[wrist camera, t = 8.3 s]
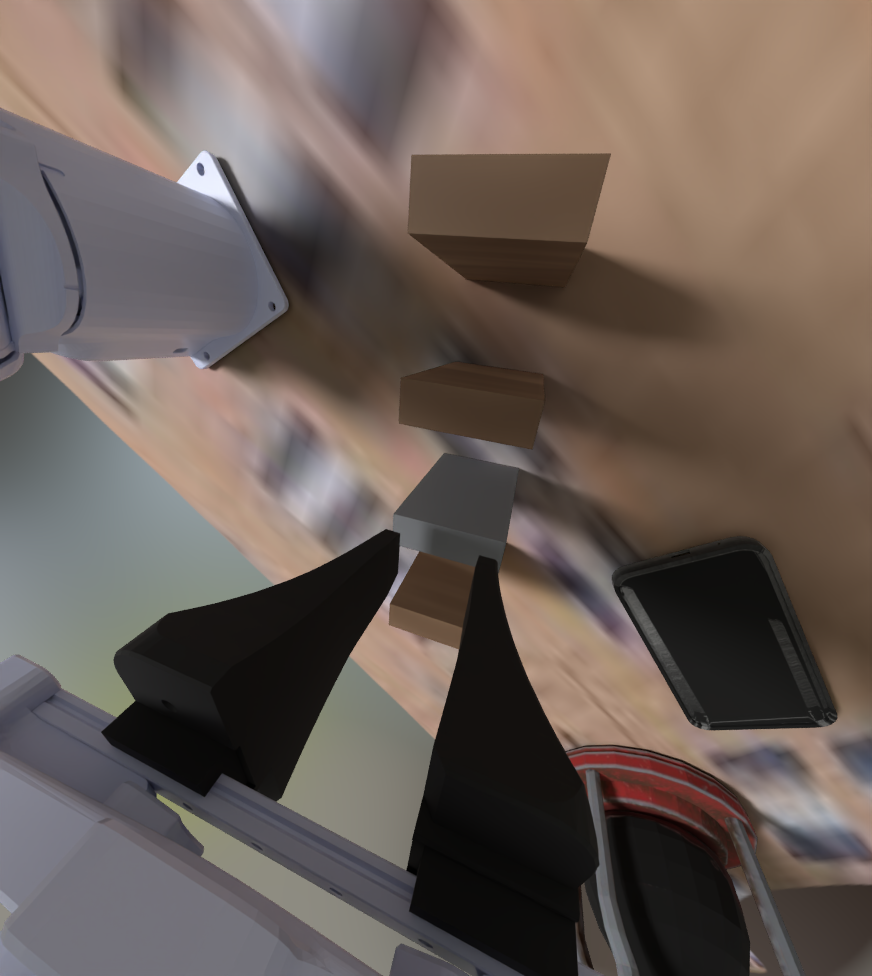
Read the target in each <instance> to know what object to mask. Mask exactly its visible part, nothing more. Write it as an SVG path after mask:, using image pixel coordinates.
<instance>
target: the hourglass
mask: <svg viewBox="0 0 872 976" xmlns="http://www.w3.org/2000/svg"><path fill="white" fill-rule="evenodd" d="M566 754H567V755H568V757H569V759H570V761H571V762H572V764H573V766H574V767H575V769H576V771H577V772H578V774H579V776H580V777H581V779H582V781H583V783H584V785H585V789H586V792H587V796H588V800H589V804H590V808H591V812H592V817H593V821H594V826H595V831H596V837H597V842H598V851H599V863H600V865H599V867H598V868H597V870H596V872H595V873H594V874H593V875H592V876H591V877H590V878H589V879H587V880H586V881H585V882H584V883H585V888H586V893H587V896H588V899H589V902H590V905H591V907H592V910H593V913H594V915H595V918H596V921H597V923H598V926H599V929H600V931H601V932H602V934H603V936H604V938H605V940H606V942H607V944H608V946H609V948H610V950H611V952H612V953H613V955H614V958H615V961H616V966H617V971H618V976H749V970H750V940H749V936H748V932H747V929H746V924H745V921H744V916H743V912H742V908H741V905H740V902H739V899H738V896H737V894H736V891H735V888H734V885H733V882H732V879H731V878H730V876H729V874H728V872H727V869H731V868H735V867H739V866H742V868H743V871H744V873H745V876H746V879H747V881H748V884H749V886H750V889H751V892H752V894H753V897H754V900H755V902H756V905H757V908H758V910H759V913H760V916H761V918H762V921H763V924H764V926H765V929H766V931H767V934H768V937H769V939H770V942H771V945H772V947H773V950H774V952H775V955H776V958H777V961H778V963H779V966H780V968H781V971H782V974H783V976H806V975H805V972H804V970H803V968H802V965H801V963H800V961H799V958H798V956H797V953H796V951H795V949H794V946H793V944H792V941H791V939H790V936H789V934H788V932H787V929H786V927H785V924H784V922H783V920H782V918H781V915H780V912H779V910H778V908H777V905H776V903H775V900H774V898H773V896H772V894H771V891H770V888H769V886H768V884H767V881H766V879H765V876H764V874H763V872H762V869H761V867H760V864H759V862H758V860H757V857H756V855H755V854H756V846H757V836H756V834H755V831H754V829H753V827H752V824H751V822H750V820H749V818H748V815H747V813H746V812H745V810H744V808H743V807H742V805H741V804H740V802H739V800H738V799H737V797H736V796H735V795H734V794H732V793H731V792H730V791H729V790H728V789H726V788H725V787H724V786H723V785H721V784H720V783H719V782H718V781H716V780H715V779H714V778H712V777H711V776H709V775H707V774H705V773H703V772H701V771H699V770H697V769H695V768H693V767H691V766H689V765H687V764H685V763H683V762H681V761H677V760H674V759H671V758H668V757H665V756H661V755H658V754H655V753H652V752H648V751H644V750H637V749H630V748H624V747H617V746H591V747H582V748H578V749H574V750H571V751H567V752H566ZM578 893H579V908H580V918H579V922H577V923H576V922H575V926H576V943H577V960H578V962H580V963H582V964H584V965H585V966H587V967H589V968H591V969H593V970H594V968H593V965H592V962H591V958H590V955H589V951H588V948H587V944H586V941H585V935H584V921H583V908H582V893H581V885H580V886H579V887H578Z"/></svg>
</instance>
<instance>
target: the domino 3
mask: <svg viewBox="0 0 872 976" xmlns="http://www.w3.org/2000/svg"><path fill="white" fill-rule="evenodd" d="M518 471H519V468H516V467H511V466H506V465H501V464H496V463H491V462H486V461H481V460H476V459H472V458H467V457H462V456H457V455H452V454H447V453H444V454H443V455H442V456H441V458H440V459H439V460H438V461H437V462H436V464H435V465H434V466H433V467H432V468H431V470H430V471H429V472H428V473H427V474H426V476H425V477H424V478H423V479H422V480H421V482H420V483H419V484H418V485H417V486H416V488H415V489H414V490H413V491H412V492H411V494H410V495H409V496H408V497H407V498H406V500H405V501H404V502H403V503H402V504H401V506H400V507H399V508H398V509H397V510H396V512H395V513H394V516H393V531H394V532H398V533H400V546H402V547H406V548H410V549H413V550H417V551H420V552H424V553H427V554H431V555H434V556H438V557H441V558H445V559H449V560H452V561H456V562H459V563H463V564H466V565H470V566H473V567H475V566H476V563H477V560H478V557H479V555H481V556H484V557H488V558H492V559H495V560H496V561H497V562H498V573H499V569H500V566H501V562H502V558H503V554H504V550H505V546H506V542H507V536H508V530H509V524H510V518H511V512H512V506H513V500H514V494H515V488H516V483H517V477H518Z"/></svg>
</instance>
